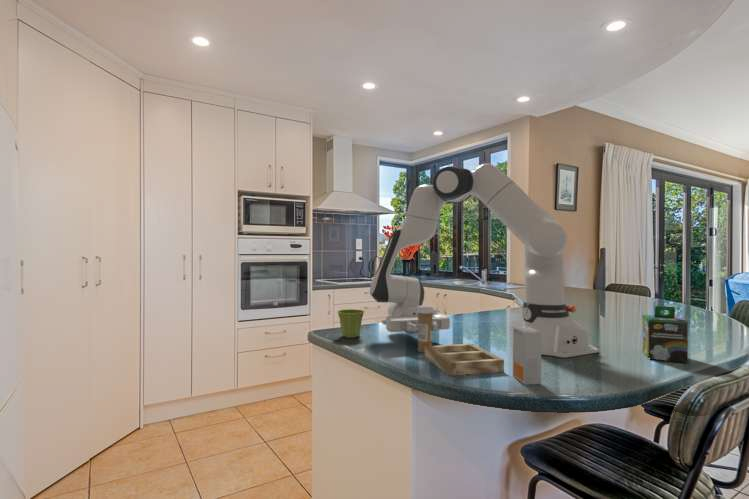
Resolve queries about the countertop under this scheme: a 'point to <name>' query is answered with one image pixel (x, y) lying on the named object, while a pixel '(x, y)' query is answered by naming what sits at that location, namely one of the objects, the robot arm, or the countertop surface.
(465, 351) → the wooden compartment tray
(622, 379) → the countertop surface
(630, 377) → the countertop surface
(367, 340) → the countertop surface
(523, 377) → the skincare box
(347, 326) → the plant pot
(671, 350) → the chalk box
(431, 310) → the sprinkles bottle
